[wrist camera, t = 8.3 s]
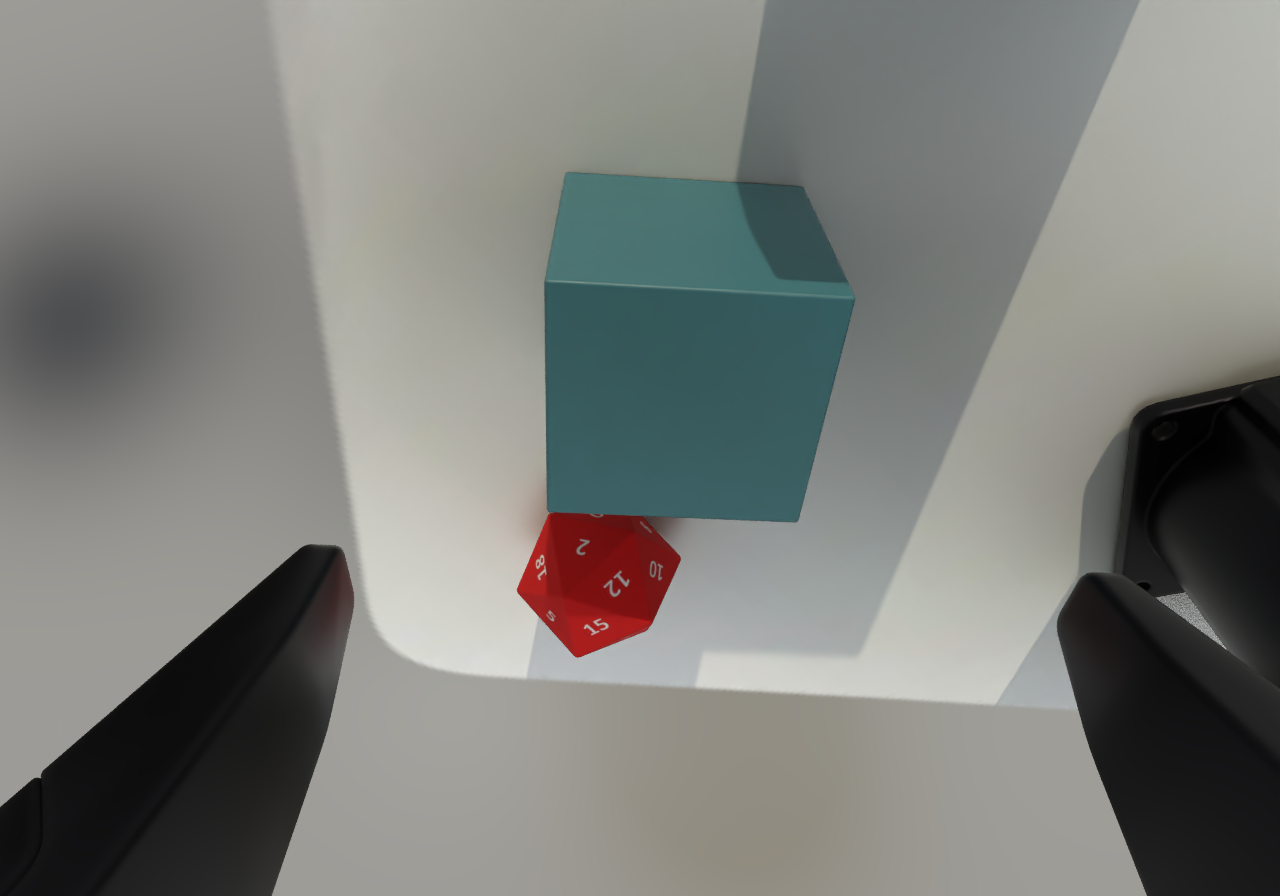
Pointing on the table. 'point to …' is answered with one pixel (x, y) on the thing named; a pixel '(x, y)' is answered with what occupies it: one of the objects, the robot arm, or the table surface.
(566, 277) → the teal cube
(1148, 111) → the table surface
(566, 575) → the die
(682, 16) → the table surface
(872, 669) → the table surface
